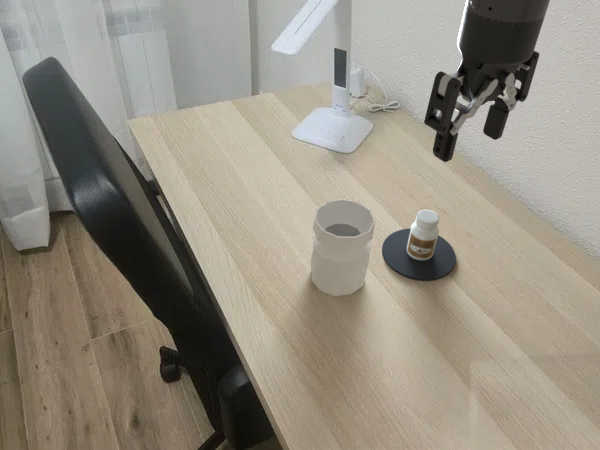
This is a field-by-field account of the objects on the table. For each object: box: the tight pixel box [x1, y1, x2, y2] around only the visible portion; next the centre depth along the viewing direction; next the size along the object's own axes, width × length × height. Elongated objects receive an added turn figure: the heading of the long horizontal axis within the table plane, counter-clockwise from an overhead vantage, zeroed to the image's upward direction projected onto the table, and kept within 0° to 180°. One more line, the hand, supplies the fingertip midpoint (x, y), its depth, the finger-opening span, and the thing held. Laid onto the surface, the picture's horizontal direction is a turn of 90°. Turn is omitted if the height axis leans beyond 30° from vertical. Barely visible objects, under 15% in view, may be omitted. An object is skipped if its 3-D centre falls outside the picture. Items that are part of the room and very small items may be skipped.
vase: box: [310, 198, 376, 297], centre depth 82 cm, size 9×9×12 cm
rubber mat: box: [381, 228, 457, 282], centre depth 91 cm, size 12×12×1 cm
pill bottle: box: [407, 209, 440, 261], centre depth 88 cm, size 4×4×8 cm
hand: (467, 146), depth 64 cm, fingers open, 8 cm apart
